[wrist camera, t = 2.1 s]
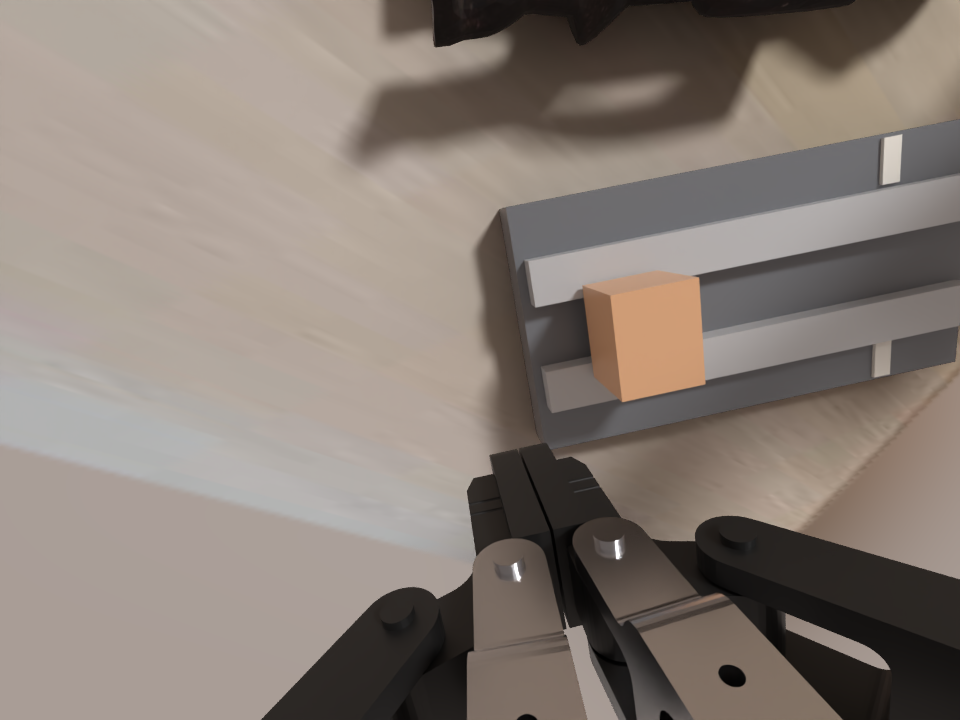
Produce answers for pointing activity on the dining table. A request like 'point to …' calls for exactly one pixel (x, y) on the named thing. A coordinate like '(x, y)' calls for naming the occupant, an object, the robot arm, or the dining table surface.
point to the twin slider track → (750, 276)
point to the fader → (646, 333)
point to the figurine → (584, 14)
